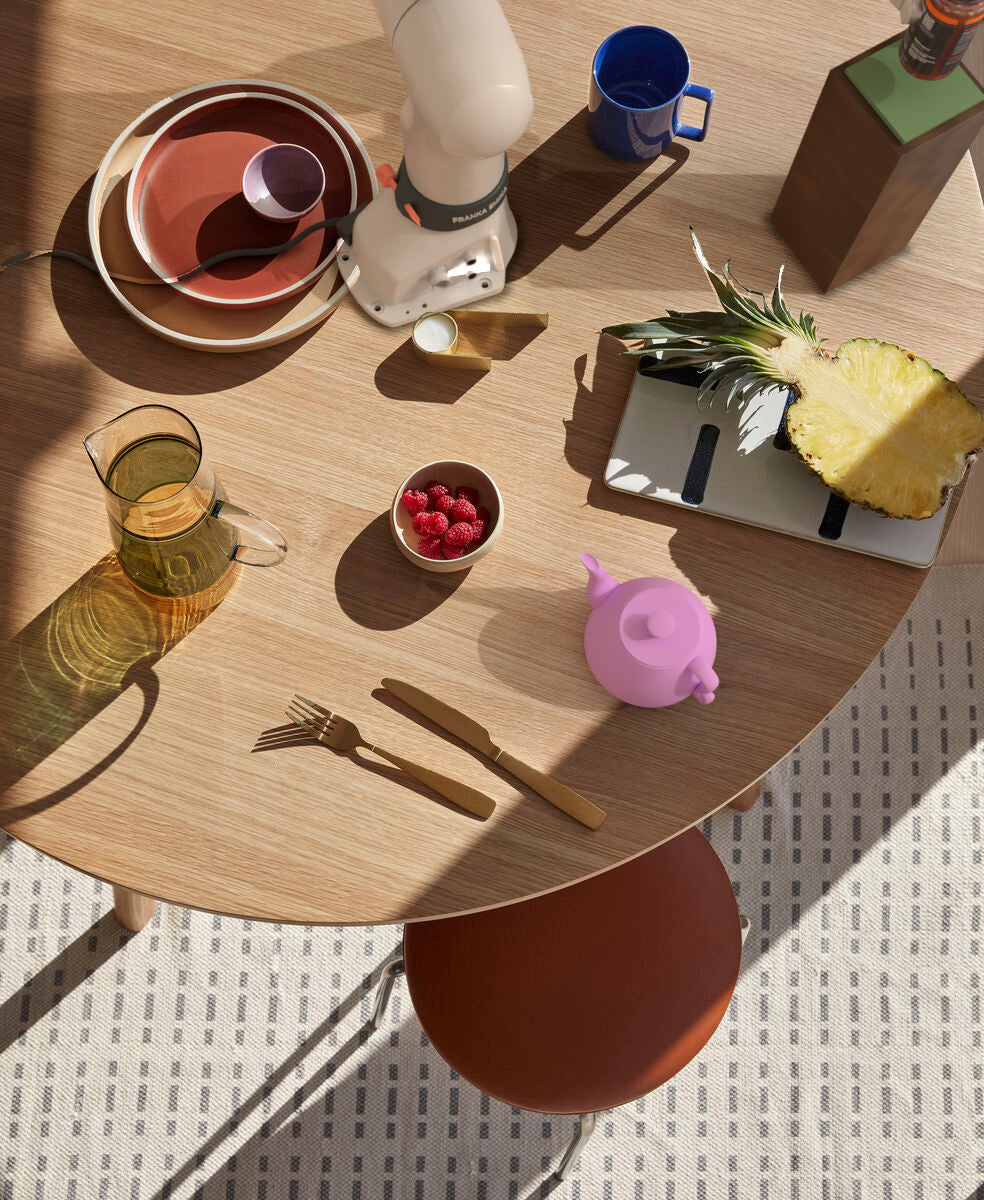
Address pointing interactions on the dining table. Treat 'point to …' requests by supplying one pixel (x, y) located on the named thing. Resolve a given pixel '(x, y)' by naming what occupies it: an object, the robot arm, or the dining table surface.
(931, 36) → the supplement bottle
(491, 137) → the robot arm
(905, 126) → the green mat
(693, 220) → the dining table surface
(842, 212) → the walnut stand
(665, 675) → the teapot
